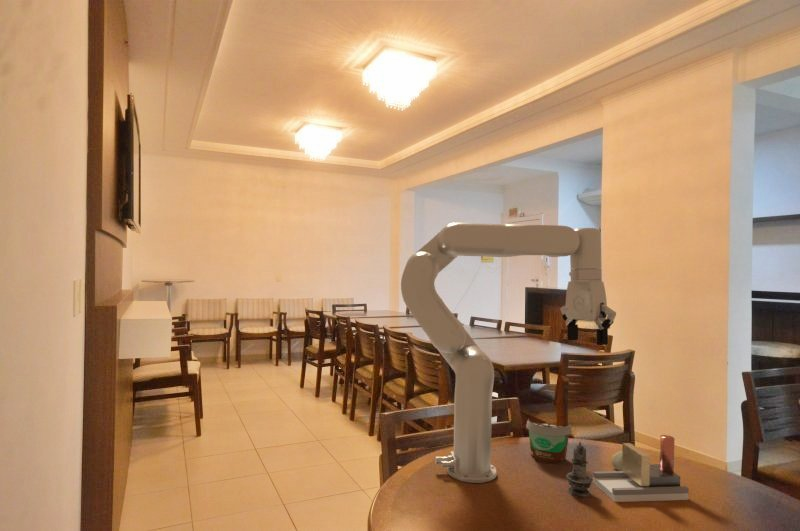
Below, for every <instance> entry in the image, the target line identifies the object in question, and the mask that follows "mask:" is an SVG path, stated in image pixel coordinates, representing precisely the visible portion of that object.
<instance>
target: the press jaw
mask: <svg viewBox="0 0 800 531" xmlns="http://www.w3.org/2000/svg"><path fill="white" fill-rule="evenodd" d="M659 442H660V443H659V452H660V453H659V463H658V464H651V463H650V462H651V459H650V458H651V455H649V454H648V453H647V452H645V451H643V450H642V449H640V448H638V447H637V446H635V445H634V444H633V443H630V442H626V443H624V442H622V448H621V450H622V472H623V473H625V474H626V475H627V476H629V477H630V478H631V479H633V480H634V481H635V482H636V483H638V484H639V485H640V486H643V487H676V486H681V476H680V475H679V474H677V473H675V437H673V436H672V435H667V434H661V435H660V438H659Z"/></svg>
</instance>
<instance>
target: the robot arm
mask: <svg viewBox="0 0 800 531" xmlns="http://www.w3.org/2000/svg"><path fill="white" fill-rule="evenodd" d="M459 256H460V257H461V256H463V257H493V258H494V257H495V258H511V257H518V256H546V257H549V258H560V257H562V258H563V257H569V256H570V258H569V259H570V261H569V262H570V271H569V273H568V275H569V276H570V280H569V281H568V282H567V288H566V295H565V304H564V305H562V306H561V307H560V312H561V316H562V319H563V320H564V322H565V325H566V326H567V327H566V328H567V329H566V330H567V340H568V341H575V340H576V341H577V340H578V339H579V325H578V324H577V322H578V321H584V322H594V323H595V325H596V326H597V329H596V345H597V346H605V345H606V346H607V345H608V344H609V337H608V336H609V332H608V331H609V329H611V326H612V324H614V320H615V318H616V316H617V312H616V311H615V310H613V309H612V308H610V307H609V306H608V305H607V304H608V303H607V294H606V288H605V283H604V281H603V276H602V275H603V273H602V272H603V271H602V233H601V230H600V229H598V228H596V227H581V228H580V227H579V228H572V227H570V226H568V225H555V224H548V225H547V224H516V223H515V224H513V223H478V222H477V223H474V222H451V223H448V224H447V225H445V226H444V227H443V228H442V229H440V231H439V232H437V234H436V235H434V236H433V237H432V239H430V240H429V241H428V242H427V243H425V244H424V245H422V247H420V248H419V249H418V250H417V251H416V252H415V253H414V254H412V255H411V256H409V258H408V259H407V262H406V263H405V267H404V269H403V272H402V275H401V280H400V290H401V295H402V296H401V297H402V298H403V299H402V300H403V302H404V304H405V306H406V307H407V310H408V311H409V312H410V314H411V315H412V317H413V318H414V319H415V320H416V322H417V323H418V325H419V326H420V328H421V329H422V330H423V332H424V333H425V334H426V336H427V337H428V340H429V341H430V344H432V346H433V347H434V348H435V349H437V351H438V353H440V354H441V356H442V357H443V359H445V361H446V363H447V364H448V365H449V366H450V368H451V370H452V371H453V372H454V374H455V385H454V386H455V387H454V398H453V399H454V400H453V401H454V403H453V404H454V405H453V408H454V409H453V413H454V414H453V416H454V417H453V450H451V451H450V454H447V455H446V456H440V455H437V456H436V455H435V457H434V462H435V465H441V468H447V469H446V471H447V474H448V475H449V476H450V477H452V478H453V479H455V480H457V481H460V482H464V483H470V484H473V483H474V484H481V483H482V484H483V483H487V482H488V483H489V482H490V481H493V480H494V479H495V478H496V477H497V475H498V474H497V473H498V472H497V468H496V466H494V465H493V464H492V463H491V461H492V456H491V455H492V416H493V415H492V413H493V412H492V407H493V406H492V404H493V403H492V402H493V388H494V382H495V368H494V365H493V363H492V360H491V358H490V357H489V356H488V355H487V353H485V352H484V351H483V350H482V349H481V348H480V347H479V345H478V344H477V343H476V342H475V340H474V339H473V337H471V335H470V334H469V332H468V331H467V330H466V329H465V327H464V325H463V323H462V322H461V321H460V320H459V319H458V318H457V317H456V316H455V315H454V314H453V313H452V311H451V310H450V309H449V307H448V306H447V305H446V304H445V302H444V301H443V299H442V298H441V296H440V295H439V293H438V292H437V290H436V286H435V281H436V279H437V277H438V275H439V274H440V273H441V271H443V270H444V269H445V268H446V267H447V266H449V265H450V264H451V263H452V262H454V261H455V259H456V258H458V257H459Z"/></svg>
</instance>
